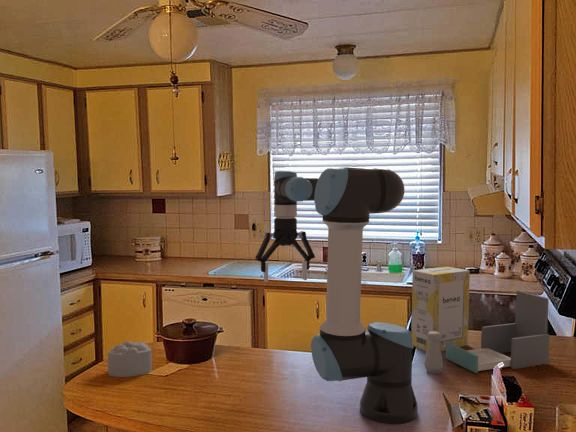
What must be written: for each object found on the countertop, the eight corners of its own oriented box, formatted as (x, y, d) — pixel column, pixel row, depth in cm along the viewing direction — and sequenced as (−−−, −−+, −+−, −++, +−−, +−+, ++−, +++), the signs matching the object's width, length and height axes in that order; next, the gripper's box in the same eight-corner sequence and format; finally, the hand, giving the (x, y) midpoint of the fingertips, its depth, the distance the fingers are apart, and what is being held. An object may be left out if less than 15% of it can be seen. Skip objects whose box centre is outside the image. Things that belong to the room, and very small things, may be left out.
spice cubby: (512, 369, 180) (515, 302, 179) (480, 354, 195) (482, 292, 193) (548, 363, 186) (550, 299, 184) (514, 350, 200) (516, 290, 198)
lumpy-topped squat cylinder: (153, 373, 176) (153, 346, 175) (111, 380, 170) (110, 352, 169) (146, 363, 185) (145, 337, 184) (105, 369, 179) (105, 342, 178)
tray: (475, 373, 175) (476, 356, 175) (445, 358, 190) (446, 342, 189) (516, 367, 181) (517, 350, 181) (484, 352, 195) (484, 337, 195)
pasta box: (431, 353, 197) (433, 274, 194) (411, 345, 206) (412, 270, 204) (467, 345, 206) (469, 270, 204) (446, 338, 215) (448, 266, 213)
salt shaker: (423, 374, 176) (424, 333, 175) (424, 368, 181) (425, 329, 180) (442, 376, 174) (443, 335, 173) (442, 370, 179) (444, 330, 178)
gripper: (316, 216, 192) (316, 276, 194) (246, 217, 184) (246, 280, 186) (324, 217, 185) (324, 280, 187) (252, 219, 177) (252, 284, 179)
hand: (285, 280), depth 186 cm, fingers open, 13 cm apart
